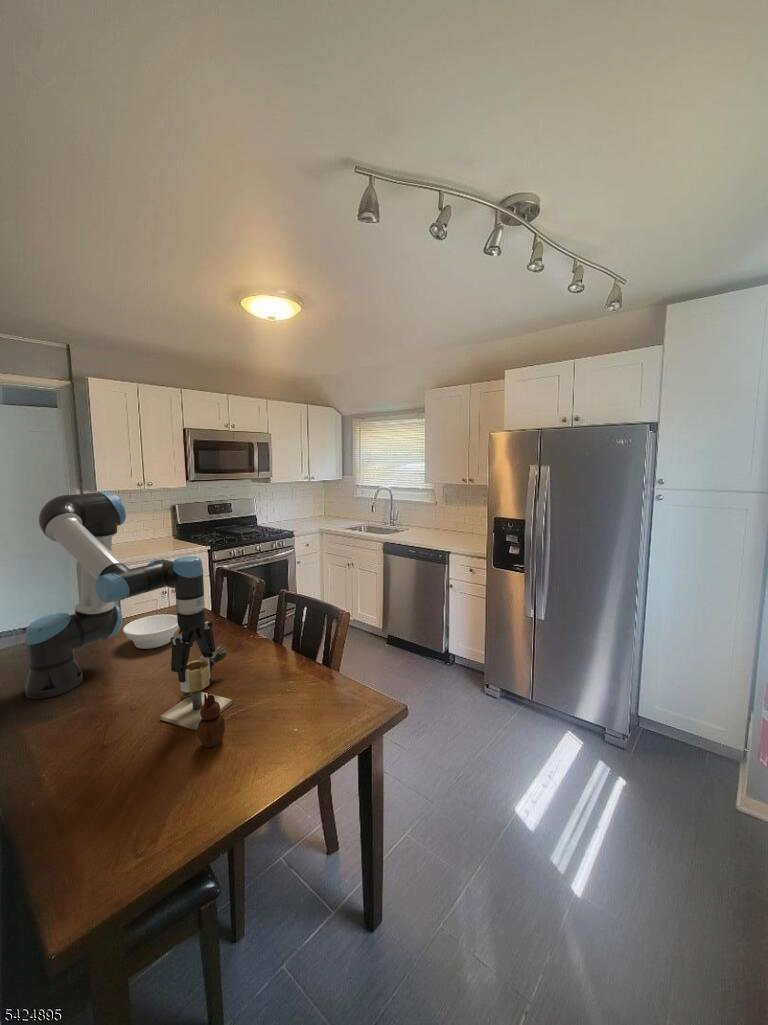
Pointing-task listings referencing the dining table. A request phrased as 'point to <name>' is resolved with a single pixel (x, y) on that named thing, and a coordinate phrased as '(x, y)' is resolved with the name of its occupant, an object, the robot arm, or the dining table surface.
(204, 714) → the wooden figurine
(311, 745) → the dining table surface
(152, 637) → the bowl
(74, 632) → the robot arm
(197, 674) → the sleeve
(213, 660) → the dinosaur figurine
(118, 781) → the dining table surface
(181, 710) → the post board
